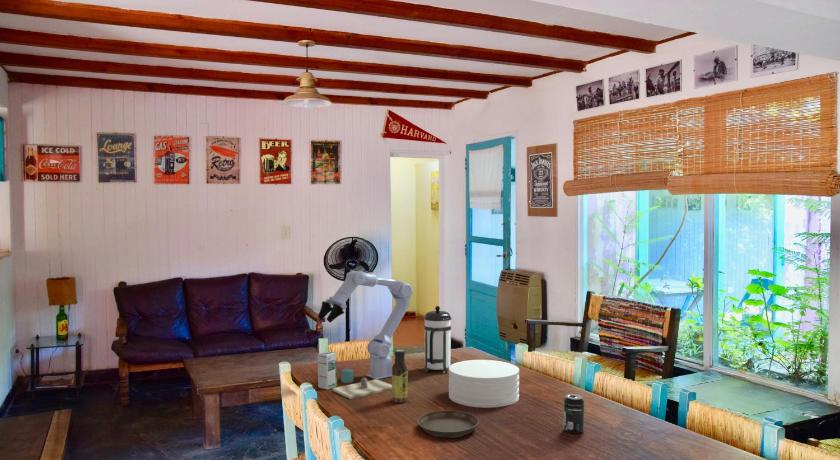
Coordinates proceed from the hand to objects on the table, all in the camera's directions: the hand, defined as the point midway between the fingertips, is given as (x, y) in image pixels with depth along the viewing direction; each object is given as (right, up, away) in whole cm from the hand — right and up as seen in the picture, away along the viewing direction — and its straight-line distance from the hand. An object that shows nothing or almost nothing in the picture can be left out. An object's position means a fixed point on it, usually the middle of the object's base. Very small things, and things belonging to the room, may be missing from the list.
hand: (323, 319), depth 261 cm
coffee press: (+49, -28, +27) cm, 62 cm away
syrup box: (+1, -29, +2) cm, 29 cm away
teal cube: (+9, -28, +10) cm, 31 cm away
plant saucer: (+50, -31, -48) cm, 76 cm away
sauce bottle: (+32, -30, -17) cm, 47 cm away
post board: (+17, -29, -3) cm, 34 cm away
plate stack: (+66, -29, -11) cm, 73 cm away
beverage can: (+92, -31, -50) cm, 110 cm away
